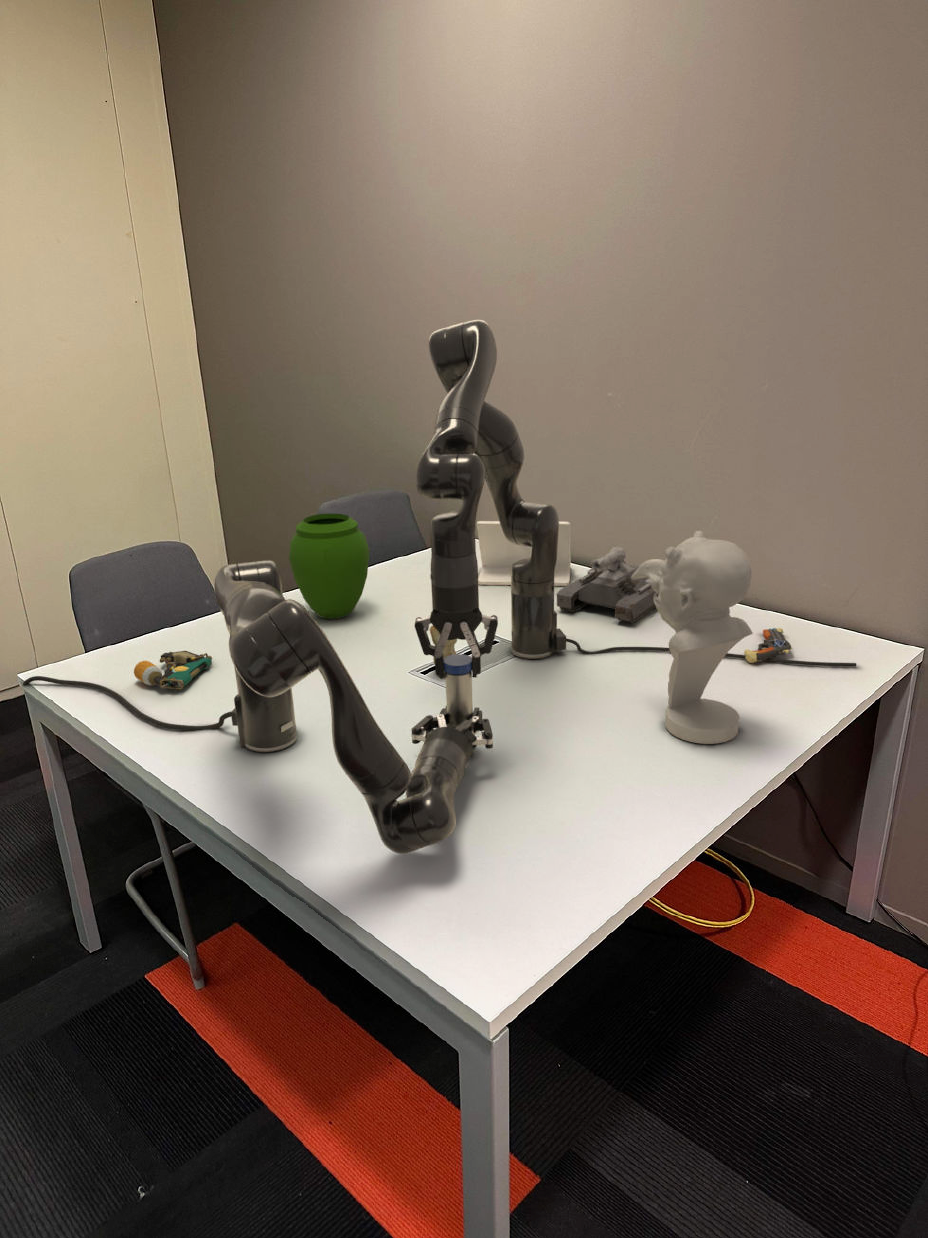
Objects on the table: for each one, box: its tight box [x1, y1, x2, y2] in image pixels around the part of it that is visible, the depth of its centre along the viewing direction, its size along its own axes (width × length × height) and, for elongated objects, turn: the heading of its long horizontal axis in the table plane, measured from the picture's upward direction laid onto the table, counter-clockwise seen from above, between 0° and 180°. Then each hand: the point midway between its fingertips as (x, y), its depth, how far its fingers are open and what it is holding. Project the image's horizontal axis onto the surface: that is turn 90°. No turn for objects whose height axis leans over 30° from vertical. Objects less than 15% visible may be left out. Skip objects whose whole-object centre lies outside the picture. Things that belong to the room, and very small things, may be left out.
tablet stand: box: [476, 520, 572, 587], centre depth 236 cm, size 18×25×17 cm
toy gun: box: [743, 627, 794, 664], centre depth 185 cm, size 3×19×10 cm
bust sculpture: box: [631, 530, 754, 745], centre depth 151 cm, size 16×24×35 cm, turn 28°
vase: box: [288, 512, 370, 620], centre depth 209 cm, size 20×20×24 cm
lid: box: [444, 653, 472, 675], centre depth 141 cm, size 5×5×2 cm
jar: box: [444, 671, 475, 759], centre depth 144 cm, size 4×4×17 cm
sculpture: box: [429, 611, 458, 672], centre depth 177 cm, size 6×7×15 cm
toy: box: [556, 546, 656, 624], centre depth 212 cm, size 25×20×15 cm
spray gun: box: [133, 650, 213, 690], centre depth 180 cm, size 4×17×15 cm
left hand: (462, 711), depth 147 cm, fingers closed on jar, 4 cm apart
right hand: (458, 675), depth 142 cm, fingers closed on lid, 4 cm apart
